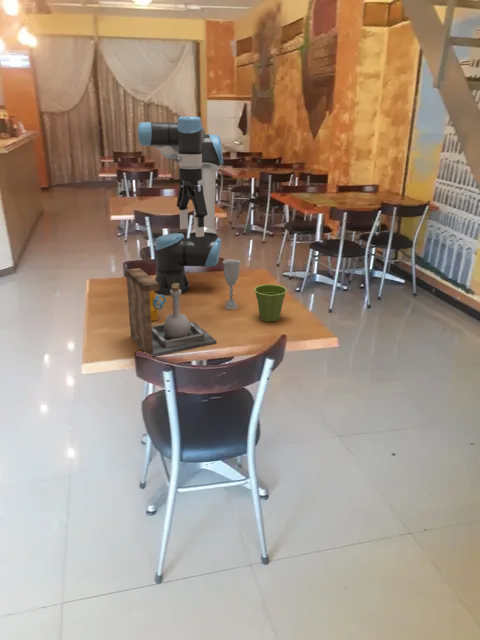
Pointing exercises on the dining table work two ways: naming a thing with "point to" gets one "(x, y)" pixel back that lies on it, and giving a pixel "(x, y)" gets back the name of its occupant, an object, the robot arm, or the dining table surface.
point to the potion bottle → (176, 318)
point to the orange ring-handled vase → (155, 305)
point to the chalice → (231, 279)
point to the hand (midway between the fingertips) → (191, 232)
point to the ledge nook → (140, 320)
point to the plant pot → (270, 301)
